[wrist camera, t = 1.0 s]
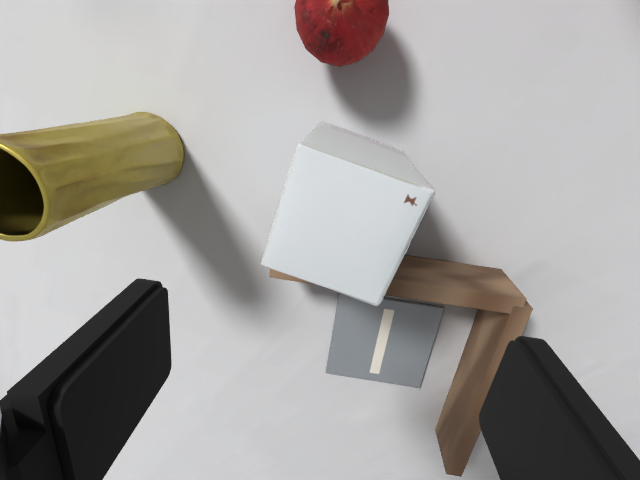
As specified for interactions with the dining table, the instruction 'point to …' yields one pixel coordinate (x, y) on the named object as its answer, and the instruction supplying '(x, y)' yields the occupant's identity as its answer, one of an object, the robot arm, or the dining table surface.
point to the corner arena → (482, 345)
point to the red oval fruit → (341, 28)
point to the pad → (383, 340)
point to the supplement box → (346, 213)
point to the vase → (81, 170)
